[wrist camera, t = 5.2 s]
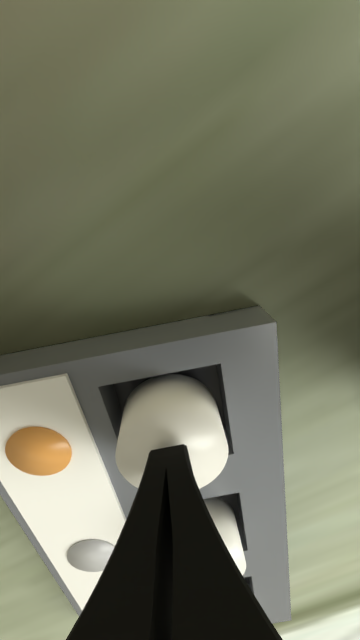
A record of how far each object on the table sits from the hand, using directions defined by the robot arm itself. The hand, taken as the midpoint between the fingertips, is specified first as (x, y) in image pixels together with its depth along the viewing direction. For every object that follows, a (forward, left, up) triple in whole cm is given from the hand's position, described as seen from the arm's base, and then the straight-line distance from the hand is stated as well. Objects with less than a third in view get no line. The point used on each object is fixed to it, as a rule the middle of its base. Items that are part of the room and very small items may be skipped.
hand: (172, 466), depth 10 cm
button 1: (0, 0, -3) cm, 3 cm away
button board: (+2, +8, -4) cm, 9 cm away
